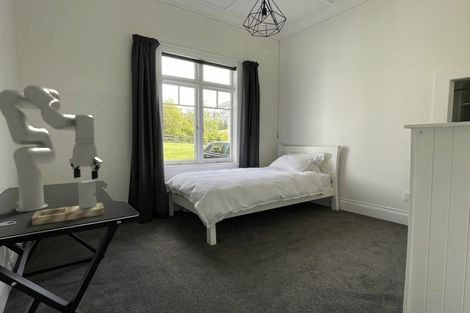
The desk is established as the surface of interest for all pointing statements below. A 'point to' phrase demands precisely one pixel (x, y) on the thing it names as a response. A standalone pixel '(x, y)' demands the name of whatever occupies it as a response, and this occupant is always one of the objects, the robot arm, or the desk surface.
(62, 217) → the puzzle board
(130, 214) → the desk surface
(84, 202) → the skincare box
